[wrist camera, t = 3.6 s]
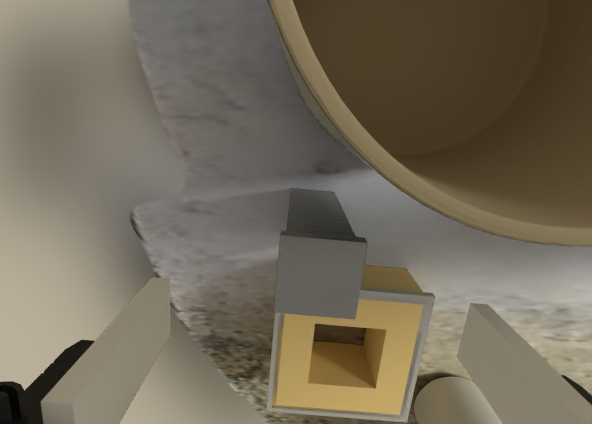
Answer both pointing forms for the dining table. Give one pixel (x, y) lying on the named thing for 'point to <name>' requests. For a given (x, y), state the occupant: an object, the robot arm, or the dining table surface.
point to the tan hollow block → (354, 354)
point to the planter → (458, 103)
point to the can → (453, 403)
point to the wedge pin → (318, 259)
